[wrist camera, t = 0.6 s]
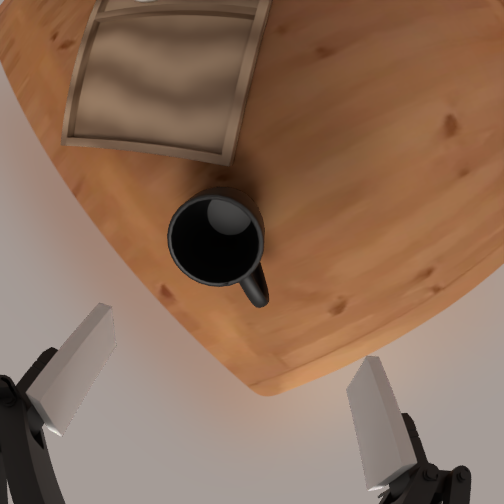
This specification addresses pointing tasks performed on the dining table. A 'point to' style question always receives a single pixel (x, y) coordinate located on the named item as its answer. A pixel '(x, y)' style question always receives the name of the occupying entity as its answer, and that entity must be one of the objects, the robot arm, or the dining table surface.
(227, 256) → the mug
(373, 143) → the dining table surface
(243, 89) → the tray
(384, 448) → the robot arm
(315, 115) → the dining table surface
